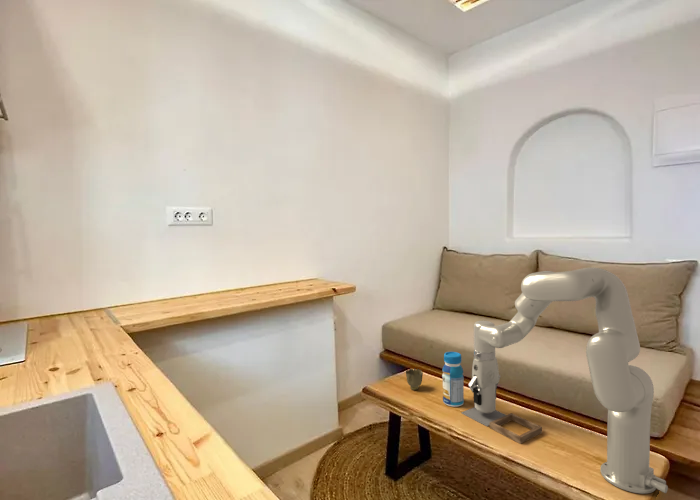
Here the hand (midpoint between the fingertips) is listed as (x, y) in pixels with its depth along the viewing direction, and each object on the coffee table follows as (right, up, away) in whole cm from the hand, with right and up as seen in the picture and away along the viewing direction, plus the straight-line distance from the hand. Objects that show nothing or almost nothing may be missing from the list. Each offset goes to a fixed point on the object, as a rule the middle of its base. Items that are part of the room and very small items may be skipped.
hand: (485, 400), depth 145 cm
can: (0, -4, 0) cm, 4 cm away
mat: (0, -6, 0) cm, 6 cm away
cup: (-22, -5, +26) cm, 34 cm away
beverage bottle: (-9, -5, +11) cm, 15 cm away
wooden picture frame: (+7, -6, -11) cm, 14 cm away
